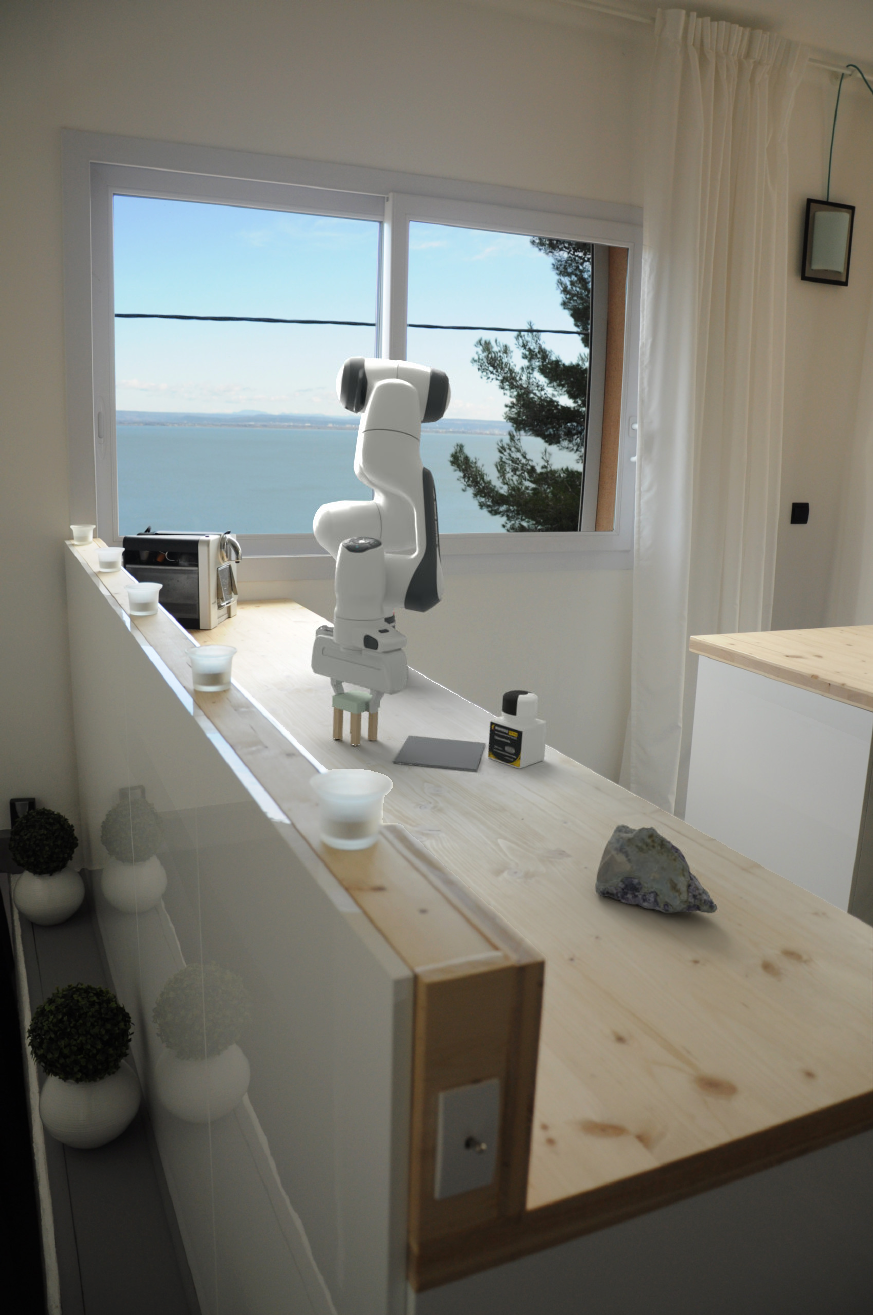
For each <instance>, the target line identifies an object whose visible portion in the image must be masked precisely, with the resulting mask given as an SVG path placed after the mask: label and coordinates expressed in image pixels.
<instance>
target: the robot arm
mask: <svg viewBox="0 0 873 1315" xmlns="http://www.w3.org/2000/svg"><path fill="white" fill-rule="evenodd" d="M336 393H337V396H338V399H339V400H338V401H339V403H340V405H341V406H342V407H343V408H344V409H346V410H347V411H350V412H352V413H355V414H358V413H361V418H360V423H359V428H358V435H357V441H356V449H355V454H354V455H355V456H354V464H353V470H354V474H355V476H356V477H357V479H358V480H359V481H360V482H361V483H362V484H364V485H365V486H367V487H368V488H370V489H372V490H373V491H374V497H373V500H339V501H333V502H329V503H325V504H322V505H321V506H320V507H319V509H318V510H317V511H316V513H315V515H314V518H313V522H312V531H313V534H314V537H315V540H316V542H317V543H318V544H319V546H321V548H323V549H324V550H325V551H326V552H328V554H330V555H331V556H332V557H333V559H334V560H335V572H334V593H335V597H336V600H335V602H336V604H335V607H334V611H333V625H330V624H328V623H322V624H321V625H319V626H318V627H317V629H315V639H314V642H313V647H312V653H311V663H310V664H311V666H310V667H311V669H312V672H313V673H314V674H316V675H320V676H323V677H326V678H330V686H331V688H332V691H333V692H334V695H337V694H341V693H345V688H344V683H348V684H351V685H354V686H357V687H362V688H365V689H369V690H370V691H369V692H370V693H369V694H370V695H373V696H372V698H371V700H370V702H366V704H365V706H366V708H365V711H366V713H368V714H369V713H372V714H373V713H376V712H377V711H378V712H379V708H378V703H379V701H380V702H381V700H382V698H383V697H384V695H385V694H386V695H389V696H391V695H396V694H399V693H402V692H403V691H404V690H405V688H406V687H407V683H408V681H407V680H408V678H409V676H408V660H407V659H408V657H407V654H406V653H405V651H404V650H403V649H404V648H405V647H407V643H408V642H407V640H408V639H407V637H406V635H405V634H403V633H402V632H400V631H398V630H397V629H396V616H395V611H394V608H397V609H405V610H408V611H412V612H413V611H414V612H418V613H425V612H427V611H429V610H431V609H432V608H434V607H436V605H438V604H439V603H440V602H441V601H442V597H443V594H444V591H445V590H444V589H445V577H444V573H443V568H442V560H441V549H440V548H441V546H440V531H439V515H438V503H437V491H436V485H435V479H434V477H433V473H432V471H431V470H430V469H428V468H427V467H425V465H424V464H423V462H422V458H421V452H420V444H421V436H422V424H429V423H436V422H438V421H440V420H441V419H442V418H444V415H445V413H446V411H447V409H449V406H450V402H451V397H452V395H451V394H452V391H451V385H450V379H449V376H448V375H447V373H446V372H444V371H443V370H441V369H438V368H436V367H434V366H433V367H432V366H430V367H426V366H424V365H421V364H417V363H413V362H409V361H404V360H400V359H399V360H391V359H385V358H366V357H365V356H351V357H349V358H347V359H346V360H345V361H344V362H343V365H342V367H340V370H339V372H338V374H337V377H336ZM413 549H415V550H416V551H415V552H414V553H413V554H399V553H397V554H396V553H393V552H404V551H407V550H413ZM385 552H387V553H385ZM388 552H392V553H388Z"/></svg>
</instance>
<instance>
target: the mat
mask: <svg viewBox="0 0 873 1315" xmlns="http://www.w3.org/2000/svg"><path fill="white" fill-rule="evenodd" d="M484 746H486V742H479V741H471V740H470V741H468V740H460V739H449V738H440V737H439V738H438V737H426V736H418V735H408V736H407V738H406V739H405V741H404V743H403V744H402V746H401V748H400V750H399V752H398V753H397V755H396V756H395V758H394V760H393V764H397V763H401V764H400V765H407V764H412V765H411V766H417V765H421V766H420V767H427V768H436V767H438V769H446V768H448V770H456V769H457V771H466V770H467V771H466V772H469V771H470V772H477V771H478V768H479V764H480V762H481V759H482V756H483V753H484V750H485V747H484Z"/></svg>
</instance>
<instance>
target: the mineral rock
mask: <svg viewBox="0 0 873 1315" xmlns="http://www.w3.org/2000/svg"><path fill="white" fill-rule="evenodd" d="M594 884H595V886H594V889H595V892H596V893H597V895H599V896H601V897H605V896H606V897H607V898H613V899H615V900H617V901H618V900H619V901H620V902H621V903H623V904H629V905H639V906H640V907H642V908H644V909H650V910H653V909H654V910H656V911H661V912H663V913H665V914H674V913H682V912H683V913H688V914H689V913H690V912H700V913H707V914H713V913H716V911H717V909H718V905H717V904H716V903H715V901H714V900H713V898H711V896H710V893H709V892H708V891H707V890H706V889H705V888H704V887H703V885H702V884H701V883H700V880H699V879H698V878H697V876H695V875H694V874H693V873H692V872H691V870H690V866H689V864H688V861H687V860H686V857H685V855H684V854H683V852H682V851H681V849H680V848H678V847H677V846H676V845H674V844H673V843H672V842H671V841H670V840H668V839H667V838H666V837H665V836H663V835H661V834H660V833H659V832H658V830H656V828H654V827H653V826H651V827H644V826H643V827H641V828H638V829H636V828H632V827H630V826H628V825H627V824H619V825H616V826H615V829H614V830H613V833H612V835H611V836H610V837H609V839H608V841H607V843H606V845H605V847H604V850H603V853H602V855H601V859H600V862H599V867H598V870H597V872H596V882H595V883H594Z"/></svg>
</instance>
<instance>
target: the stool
mask: <svg viewBox="0 0 873 1315" xmlns="http://www.w3.org/2000/svg"><path fill="white" fill-rule="evenodd" d="M344 692H345V691H344ZM372 696H373V695H370V693H369V692H365V691H361V690H359V689H353V690H350V691H346V692H345V693H341V694H337V695H335V694H334V695H332V696H331V697H332V699H331V700H332V701H331V702H332V704H331V706H332V707H333V720H332V721H333V724H332V726H333V727H332V739H333V738H335V739H340V740H343V733H344V731H343V730H344V711H345V712H349V713H350V718H349V719H350V721H349V724H350V725H349V734H350V745H351V744H354V745H358V744H360V745H361V739H362V738H361V737H362V735H361V734H362V731H361V730H362V713H364V712H366V711H365V708H366V706H365V704H366V702H370V700H371V698H372ZM379 708H381V700H380V701H379V703H378V709H379ZM366 713H367V712H366ZM367 718H368V720H367V723H368V724H367V740H369V741H377V740H378V728H379V727H378V726H379V710H378V711H377V712H376V713H373V714H372V713H369V712H368V717H367ZM335 739H334V740H335ZM358 746H359V745H358Z"/></svg>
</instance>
